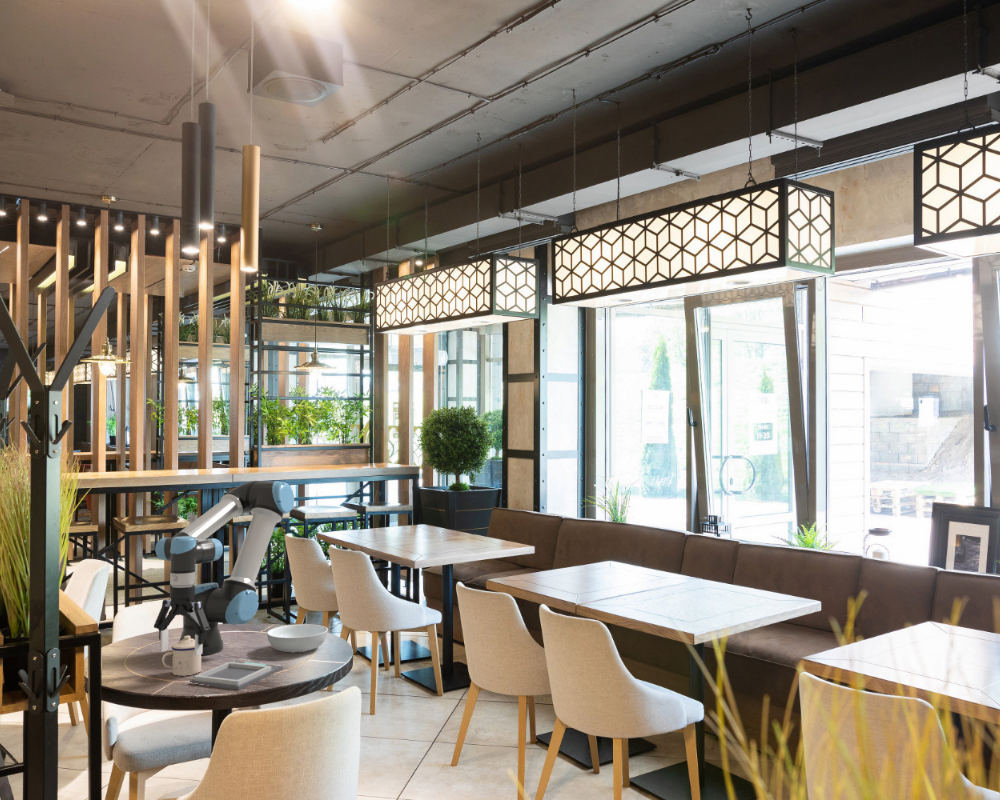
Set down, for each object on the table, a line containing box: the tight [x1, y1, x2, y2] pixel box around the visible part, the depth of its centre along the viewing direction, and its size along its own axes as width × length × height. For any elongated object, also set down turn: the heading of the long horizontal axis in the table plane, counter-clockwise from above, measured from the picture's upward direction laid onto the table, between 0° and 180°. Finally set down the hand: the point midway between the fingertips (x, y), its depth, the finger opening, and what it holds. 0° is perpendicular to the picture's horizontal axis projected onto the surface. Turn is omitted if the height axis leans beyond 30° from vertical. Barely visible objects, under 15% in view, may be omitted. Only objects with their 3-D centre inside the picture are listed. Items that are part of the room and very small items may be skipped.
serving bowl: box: [266, 623, 329, 653], centre depth 286 cm, size 21×21×7 cm
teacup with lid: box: [161, 636, 202, 675], centre depth 259 cm, size 12×9×12 cm
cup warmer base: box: [189, 660, 283, 691], centre depth 255 cm, size 18×22×2 cm
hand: (181, 652), depth 259 cm, fingers open, 13 cm apart
